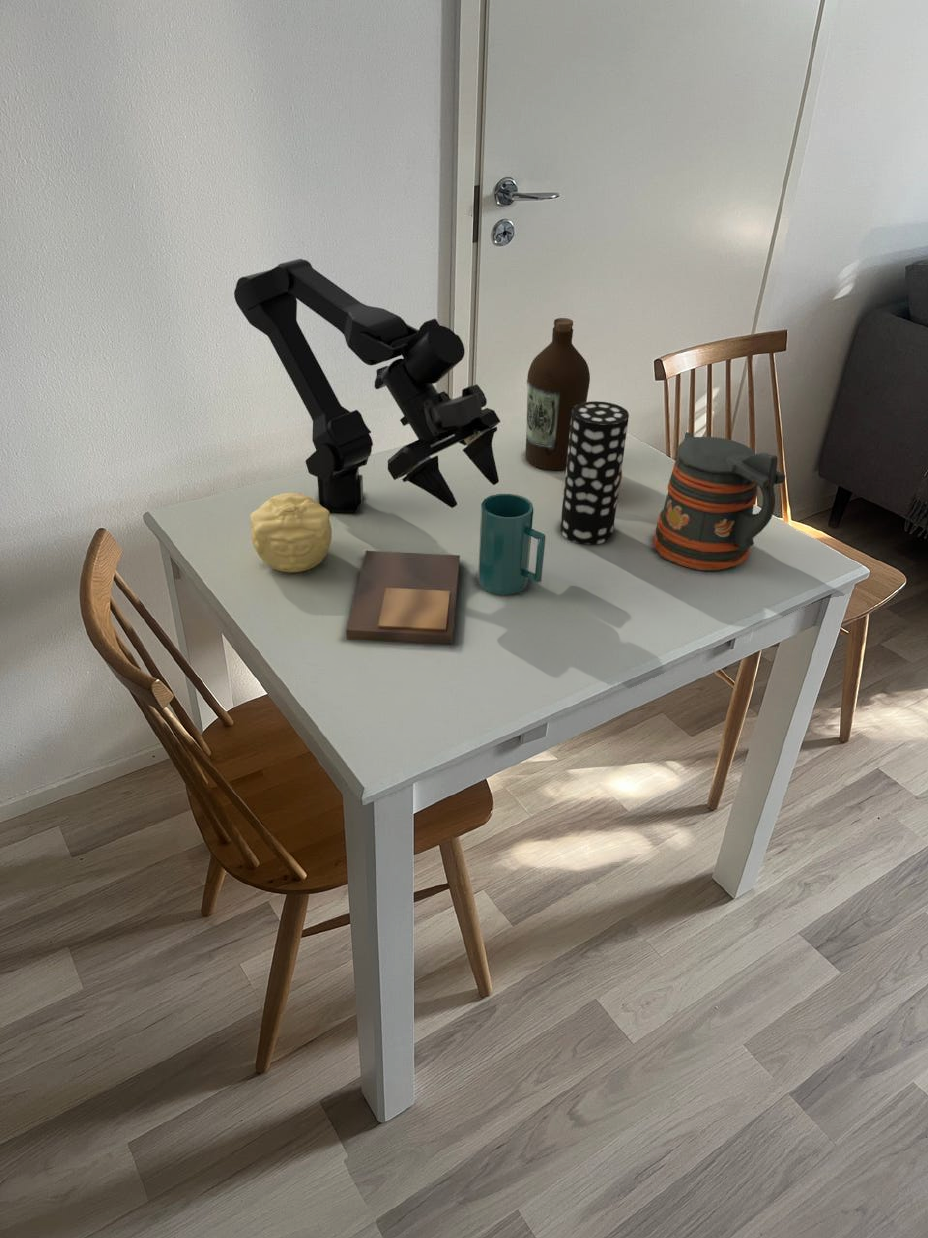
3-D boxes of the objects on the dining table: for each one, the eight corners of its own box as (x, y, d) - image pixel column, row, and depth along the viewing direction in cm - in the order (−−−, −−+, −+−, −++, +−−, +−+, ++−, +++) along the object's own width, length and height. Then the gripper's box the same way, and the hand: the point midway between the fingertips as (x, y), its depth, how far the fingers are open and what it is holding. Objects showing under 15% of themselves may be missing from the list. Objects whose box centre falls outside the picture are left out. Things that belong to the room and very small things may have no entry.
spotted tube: (578, 549, 148) (592, 428, 136) (550, 524, 154) (561, 406, 142) (623, 537, 151) (640, 418, 140) (593, 513, 157) (607, 397, 146)
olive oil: (548, 440, 179) (559, 305, 165) (593, 459, 173) (609, 321, 159) (509, 457, 173) (518, 319, 158) (554, 478, 167) (567, 336, 152)
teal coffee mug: (468, 582, 140) (471, 506, 133) (498, 562, 144) (503, 488, 137) (524, 609, 135) (530, 532, 127) (554, 588, 139) (561, 512, 132)
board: (346, 639, 128) (345, 628, 127) (366, 559, 144) (365, 548, 143) (451, 644, 128) (452, 633, 127) (459, 563, 144) (460, 553, 143)
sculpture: (254, 585, 138) (246, 519, 131) (256, 541, 147) (248, 478, 141) (334, 580, 139) (331, 515, 133) (331, 537, 149) (328, 475, 142)
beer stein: (791, 568, 145) (824, 447, 134) (724, 598, 138) (753, 473, 127) (699, 515, 158) (722, 400, 146) (633, 540, 151) (651, 421, 139)
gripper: (401, 390, 123) (465, 495, 124) (493, 352, 135) (550, 448, 136) (360, 429, 132) (420, 527, 133) (449, 391, 144) (504, 481, 144)
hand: (476, 494), depth 136 cm, fingers open, 9 cm apart
